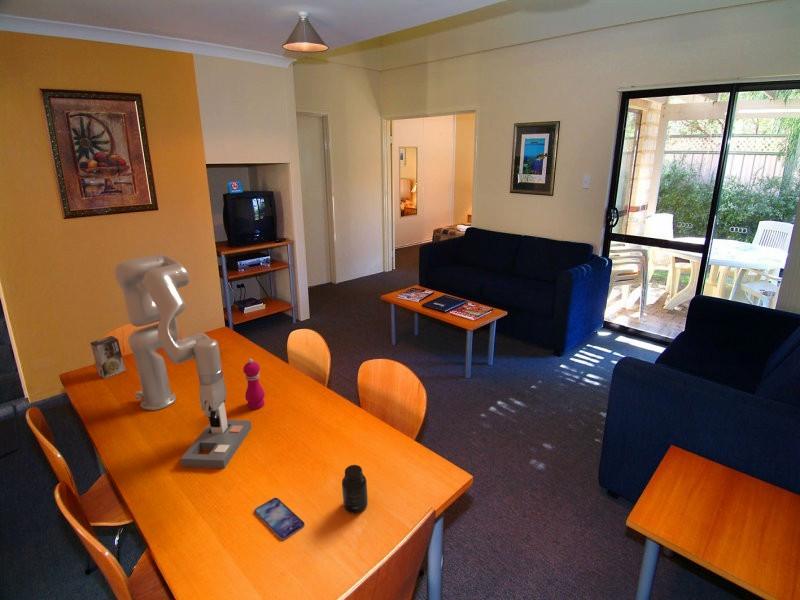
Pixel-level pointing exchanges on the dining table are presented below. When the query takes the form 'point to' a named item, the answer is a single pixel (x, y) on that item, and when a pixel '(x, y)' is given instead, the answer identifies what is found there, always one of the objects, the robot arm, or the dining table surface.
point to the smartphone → (279, 518)
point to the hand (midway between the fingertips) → (218, 422)
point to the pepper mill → (253, 385)
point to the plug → (222, 418)
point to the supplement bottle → (354, 490)
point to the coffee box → (108, 356)
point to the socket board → (216, 446)
